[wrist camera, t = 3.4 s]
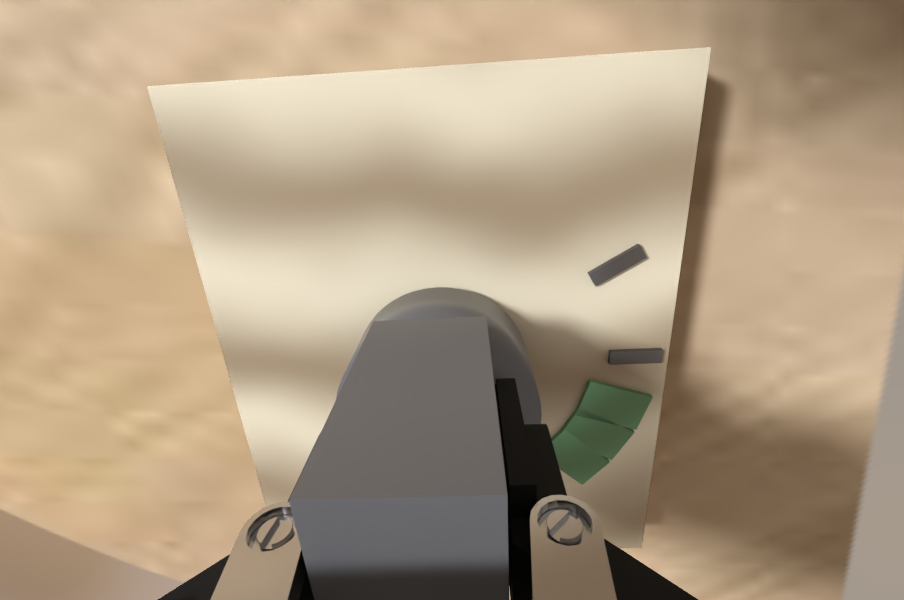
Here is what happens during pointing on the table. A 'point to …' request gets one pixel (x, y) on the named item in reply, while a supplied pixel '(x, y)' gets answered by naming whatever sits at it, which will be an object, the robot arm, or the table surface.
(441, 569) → the knob
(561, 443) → the dial board
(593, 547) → the robot arm
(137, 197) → the table surface
